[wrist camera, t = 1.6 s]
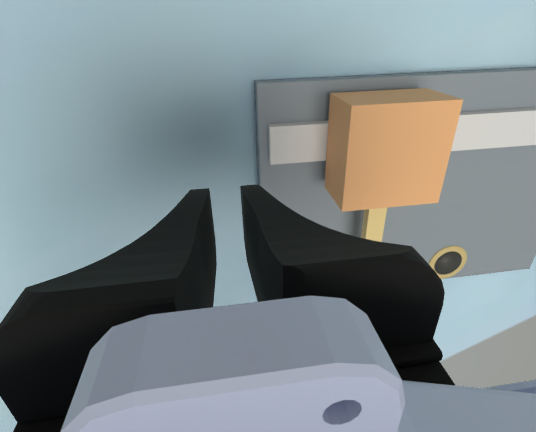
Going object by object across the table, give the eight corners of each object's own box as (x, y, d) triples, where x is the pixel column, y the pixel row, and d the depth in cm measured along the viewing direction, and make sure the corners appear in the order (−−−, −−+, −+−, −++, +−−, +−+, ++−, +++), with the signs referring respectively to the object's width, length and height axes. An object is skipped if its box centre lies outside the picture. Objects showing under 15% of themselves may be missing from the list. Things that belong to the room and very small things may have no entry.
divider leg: (317, 287, 23) (331, 322, 21) (329, 92, 17) (351, 105, 14) (388, 279, 24) (411, 312, 21) (424, 87, 18) (463, 99, 15)
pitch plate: (263, 290, 25) (268, 315, 22) (254, 80, 18) (260, 88, 16) (519, 260, 27) (546, 281, 25) (599, 64, 20) (646, 69, 18)
